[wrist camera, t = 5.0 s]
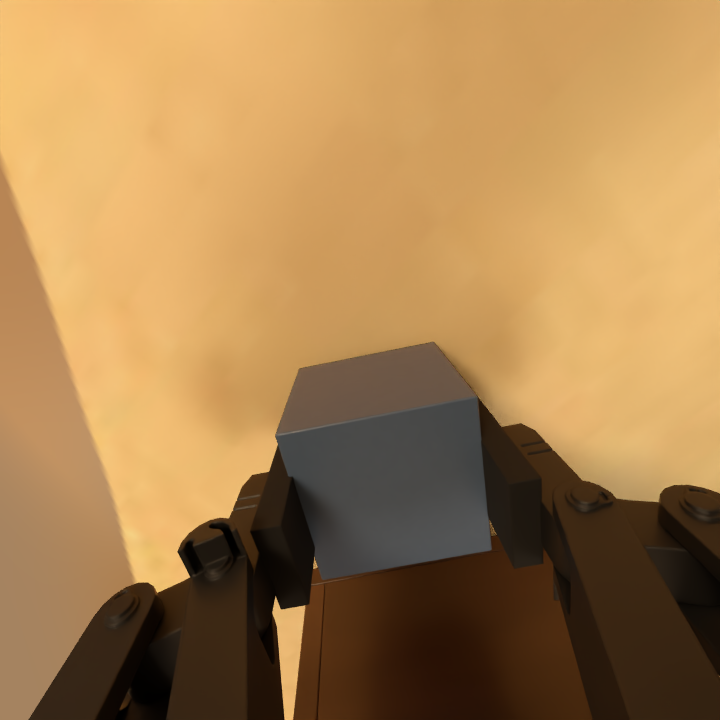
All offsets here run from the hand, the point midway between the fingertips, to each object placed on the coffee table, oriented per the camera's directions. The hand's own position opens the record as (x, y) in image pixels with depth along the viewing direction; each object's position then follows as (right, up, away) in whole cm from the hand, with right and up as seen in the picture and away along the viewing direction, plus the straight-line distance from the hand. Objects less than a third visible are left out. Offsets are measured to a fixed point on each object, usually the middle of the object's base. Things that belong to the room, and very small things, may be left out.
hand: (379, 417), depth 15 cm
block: (0, 0, 0) cm, 0 cm away
